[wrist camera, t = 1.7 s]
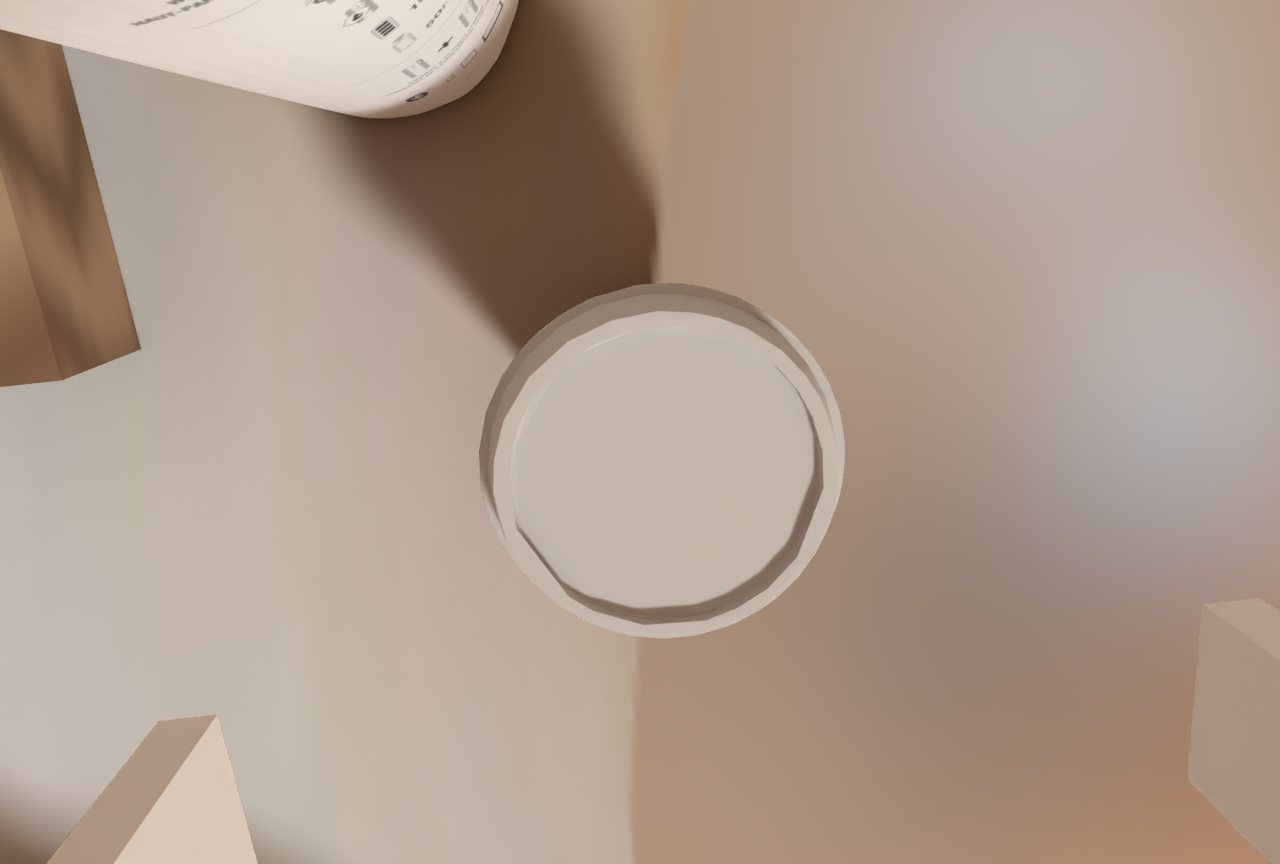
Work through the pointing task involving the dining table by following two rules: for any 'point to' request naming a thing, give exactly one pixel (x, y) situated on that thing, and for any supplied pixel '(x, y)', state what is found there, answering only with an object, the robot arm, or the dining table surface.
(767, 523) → the disposable coffee cup
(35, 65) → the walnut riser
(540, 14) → the dining table surface
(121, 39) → the speaker
